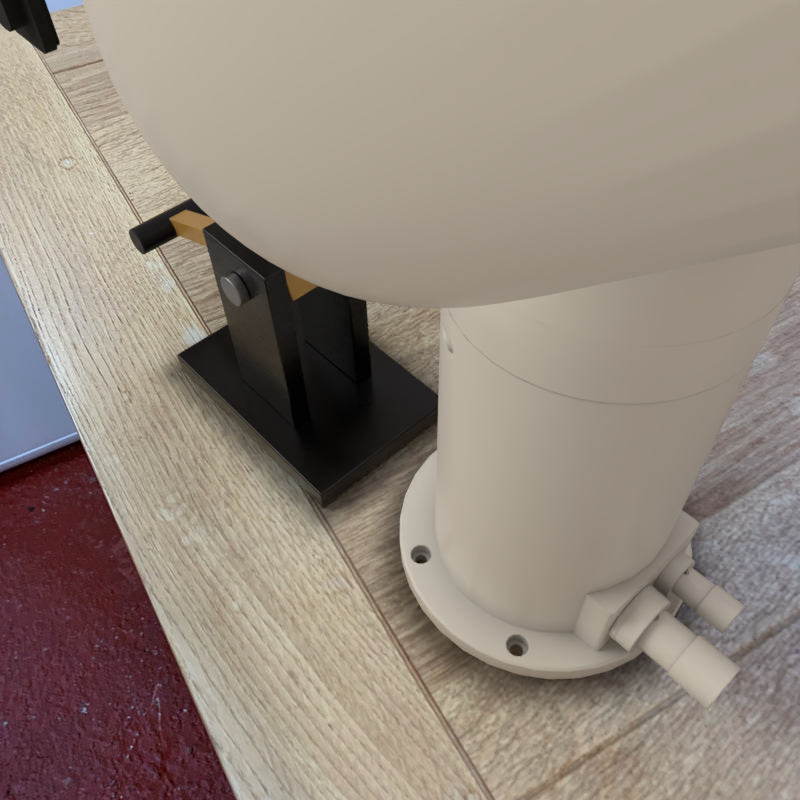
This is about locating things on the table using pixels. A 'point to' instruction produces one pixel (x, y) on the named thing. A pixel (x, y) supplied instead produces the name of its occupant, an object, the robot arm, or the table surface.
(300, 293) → the lever
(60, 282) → the table surface
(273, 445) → the bracket
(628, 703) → the table surface
